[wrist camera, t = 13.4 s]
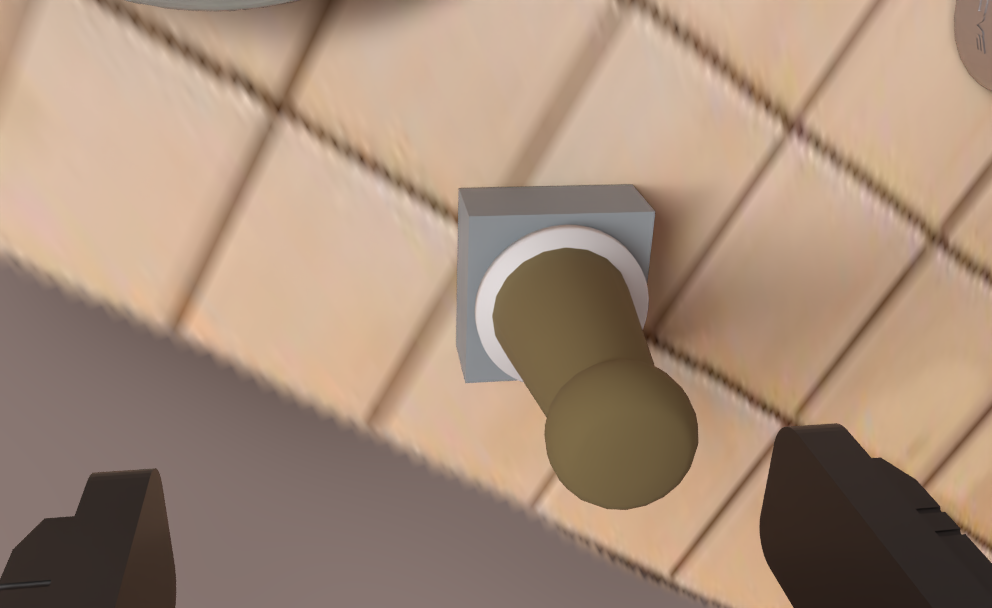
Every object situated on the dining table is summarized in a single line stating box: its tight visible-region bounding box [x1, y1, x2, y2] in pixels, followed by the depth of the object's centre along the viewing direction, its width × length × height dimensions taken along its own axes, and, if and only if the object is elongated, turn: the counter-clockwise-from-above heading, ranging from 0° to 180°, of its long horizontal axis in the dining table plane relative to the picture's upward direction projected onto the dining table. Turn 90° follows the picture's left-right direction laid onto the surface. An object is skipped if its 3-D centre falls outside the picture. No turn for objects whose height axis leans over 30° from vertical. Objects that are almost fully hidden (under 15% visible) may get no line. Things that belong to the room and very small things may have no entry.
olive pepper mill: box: [492, 247, 698, 510], centre depth 36 cm, size 6×6×11 cm
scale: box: [456, 184, 655, 383], centre depth 43 cm, size 8×8×5 cm
